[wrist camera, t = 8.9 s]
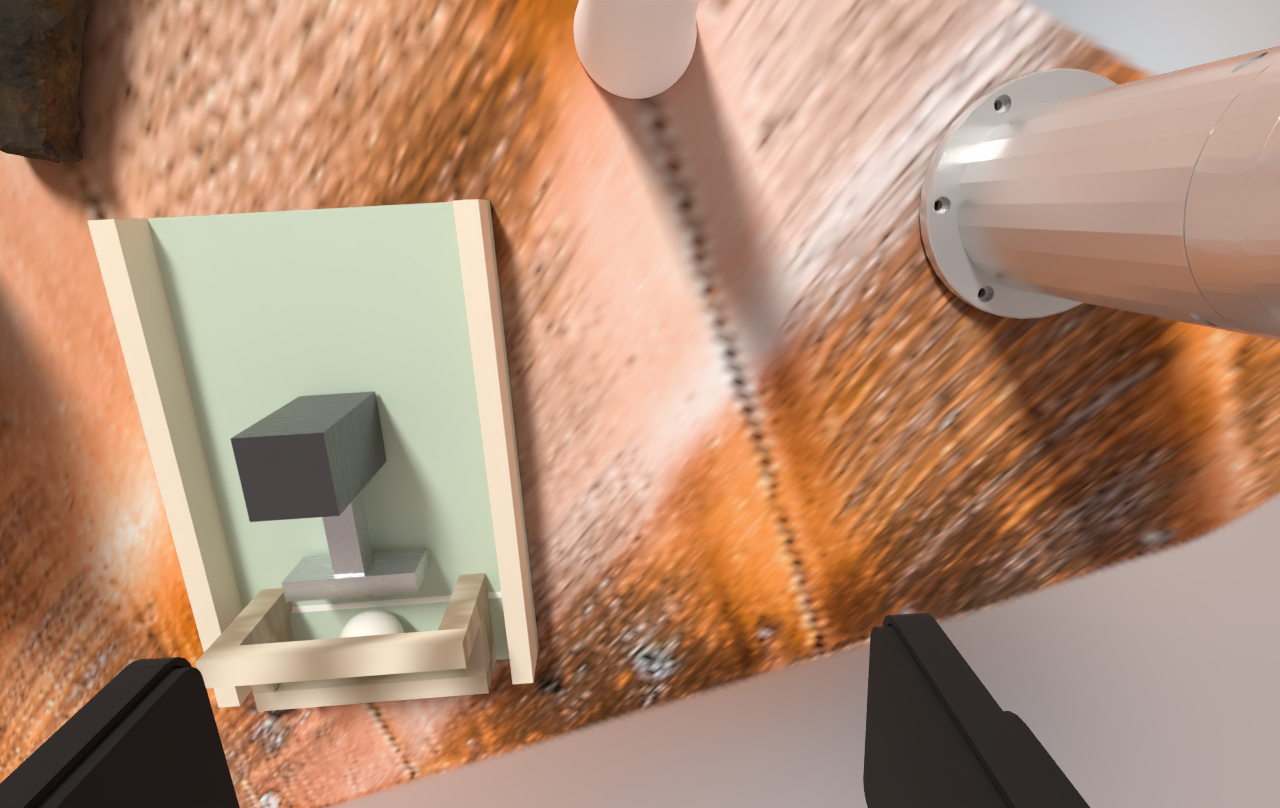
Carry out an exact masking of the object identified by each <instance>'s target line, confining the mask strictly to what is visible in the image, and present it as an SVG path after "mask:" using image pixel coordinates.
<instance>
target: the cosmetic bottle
mask: <svg viewBox="0 0 1280 808" xmlns="http://www.w3.org/2000/svg"><path fill="white" fill-rule="evenodd" d="M698 1H699V0H579V3H578V6H577V9H576V13H575V18H574V41H575V46H576V50H577V53H578V56H579V58H580V61H581V63H582V65H583V67H584V68H585V70H586V71H587V73H588V74H589V75H590V77H591V78H592V79H593V80H594V81H595V82H596V83H597V84H598V85H599V86H601V87H602V88H603V89H605V90H607V91H608V92H610V93H612V94H614V95H617V96H620V97H624V98H630V99H642V98H648V97H652V96H655V95H658V94H660V93H662V92H664V91H665V90H667V89H668V88H670V87H671V86H672V85H673V84H675V83H676V82H677V81H678V80H679V78H680V77H681V76H682V75H683V73H684V72H685V71H686V69H687V67H688V65H689V63H690V61H691V59H692V56H693V53H694V50H695V45H696V37H697V24H696V17H695V14H696V10H697V5H698Z"/></svg>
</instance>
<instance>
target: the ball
mask: <svg viewBox="0 0 1280 808" xmlns="http://www.w3.org/2000/svg"><path fill="white" fill-rule="evenodd" d="M398 633H404V631H403V628H402V625H401V623H400V622H399V620H398V619H397V618H396V617H395V616H394V615H393V614H391V613H389V612H387V611H384V610H379V609H372V610H367V611H363V612H361V613H359V614H357V615H356V616H354V617H353V618H352V619H351V620H349V622H348V623H347V624H346V625H345V627H344V628H343V630H342V632H341V635H340V638H345V637H358V636H371V635H384V634H398Z"/></svg>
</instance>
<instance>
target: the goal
mask: <svg viewBox="0 0 1280 808" xmlns="http://www.w3.org/2000/svg"><path fill="white" fill-rule="evenodd" d="M291 611H292V605H291V602H286V601H285V596H284V592H283V588H274V589H261V591H260V592H259V593H258V594H257V595H256V596H255V597H254V598H253V599H252V601H251V602H250V603H249V604H248V605H247V606H246V607H245V608H244V609H243V610H242V612H241V613H240V614H239V615H238V616H237V617H236V618H235V619H234V620H233V622H232V623H231V624H230V625H229V626H228V627H227V628H226V629H225V630H224V632H223V633H222V634H221V635H220V636H219V637H218V638H217V639H216V640H215V641H214V643H213V644H212V645H211V646H210V647H209V648H208V649H207V650H206V651H205V653H204V654H203V655H202V656H201V657H200V658H199V659H198V660H197V661H196V663H195V664H196V668H197V669H198V670H199V671H200V672H201V674H202V676H203V680H204V683H205V687H206V688H219V687H232V686H245V685H251V686H252V690H253V694H254V698H255V702H256V706H257V710H258V711H270V710H283V709H296V708H308V707H321V706H334V705H346V704H359V703H371V702H384V701H397V700H409V699H422V698H435V697H447V696H460V695H473V694H485V693H489V689H490V685H491V681H492V677H493V673H494V668H495V664H496V652H495V644H494V637H493V629H492V621H491V614H490V606H489V599H488V591H487V583H486V575H485V573H479V574H466V575H459V578H458V580H457V583H456V585H455V588H454V590H453V593H452V595H451V598H450V601H449V603H448V606H447V608H446V611H445V613H444V616H443V618H442V621H441V623H440V626H439V628H438V630H437V631H424V632H411V633H398V634H384V635H371V636H358V637H345V638H331V639H318V640H305V641H294V637H293V633H292V628H291V624H290V619H289V614H290V613H291Z"/></svg>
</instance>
